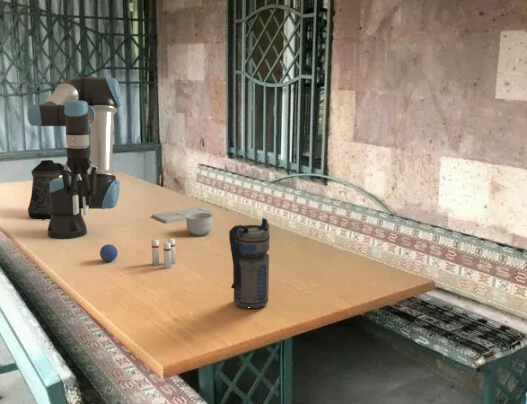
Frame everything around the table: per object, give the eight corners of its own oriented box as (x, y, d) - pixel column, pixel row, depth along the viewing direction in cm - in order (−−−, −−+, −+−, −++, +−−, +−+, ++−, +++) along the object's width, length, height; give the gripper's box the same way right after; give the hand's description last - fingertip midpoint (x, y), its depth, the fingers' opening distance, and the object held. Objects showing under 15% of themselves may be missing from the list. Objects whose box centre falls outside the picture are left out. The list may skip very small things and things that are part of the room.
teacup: (208, 238, 247) (208, 218, 245) (182, 236, 249) (182, 217, 247) (217, 229, 260) (217, 211, 258) (193, 227, 262) (192, 209, 260)
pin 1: (162, 268, 209) (162, 244, 207) (165, 266, 212) (164, 242, 210) (169, 268, 209) (169, 244, 207) (172, 266, 211) (171, 242, 209)
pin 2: (167, 263, 214) (166, 240, 212) (169, 261, 217) (168, 238, 215) (174, 264, 214) (173, 240, 212) (176, 262, 216) (175, 238, 214)
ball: (97, 263, 213) (96, 246, 212) (104, 258, 219) (103, 241, 218) (113, 264, 213) (113, 247, 211) (120, 259, 218) (119, 242, 217)
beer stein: (20, 217, 273) (16, 162, 268) (50, 208, 291) (47, 156, 286) (49, 221, 267) (46, 165, 262) (78, 212, 285) (76, 159, 280)
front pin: (151, 265, 212) (150, 241, 211) (153, 262, 215) (152, 239, 213) (158, 265, 212) (157, 241, 210) (160, 263, 214) (159, 239, 213)
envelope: (152, 218, 279) (166, 225, 269) (151, 213, 279) (166, 220, 268) (197, 210, 293) (213, 216, 283) (197, 206, 293) (213, 212, 282)
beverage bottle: (219, 304, 179) (220, 221, 173) (255, 294, 187) (256, 214, 182) (240, 315, 171) (241, 228, 166) (277, 304, 179) (279, 221, 174)
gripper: (50, 147, 206) (54, 215, 211) (95, 149, 204) (98, 217, 209) (60, 144, 213) (64, 210, 218) (104, 146, 211) (107, 212, 216)
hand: (81, 213), depth 214 cm, fingers open, 3 cm apart
